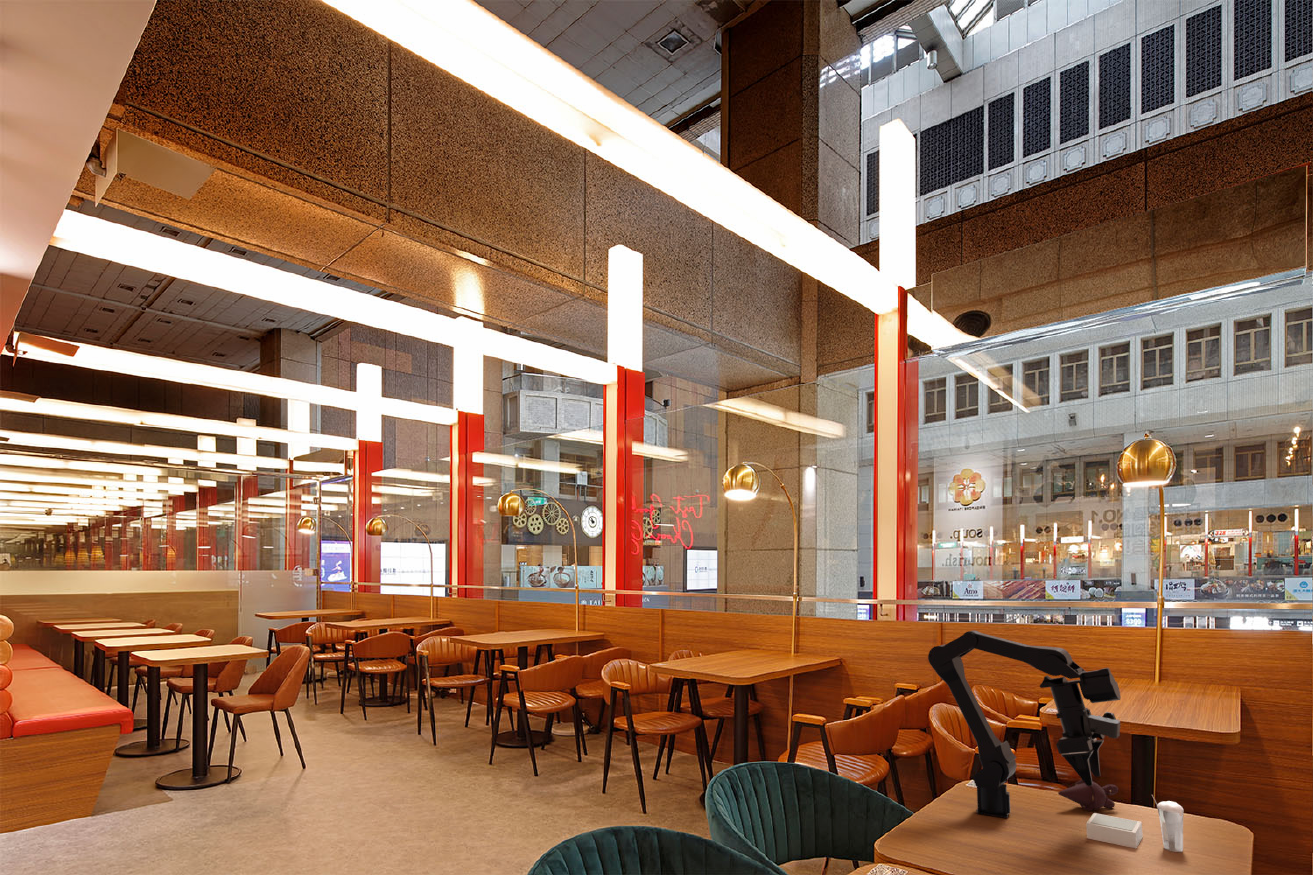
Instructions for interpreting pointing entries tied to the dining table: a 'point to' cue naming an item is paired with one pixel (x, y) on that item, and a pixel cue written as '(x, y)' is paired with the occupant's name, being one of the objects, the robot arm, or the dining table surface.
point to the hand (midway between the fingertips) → (1093, 780)
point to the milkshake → (1171, 825)
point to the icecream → (1090, 795)
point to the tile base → (1114, 830)
